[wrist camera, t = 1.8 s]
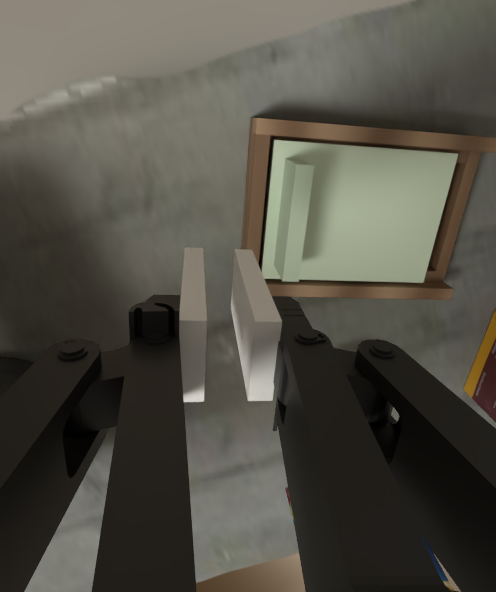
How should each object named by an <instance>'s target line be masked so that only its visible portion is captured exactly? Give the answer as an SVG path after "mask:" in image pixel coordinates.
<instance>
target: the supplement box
mask: <svg viewBox="0 0 496 592" xmlns="http://www.w3.org/2000/svg"><path fill="white" fill-rule="evenodd" d="M464 391H465V392H466V393H467V394H468V395H469V396H470V397H471V398H472V399H473V400H474V401H475V402H476V403H477V404H478V405H479V406H480V407H481V408H482V409H483V410H484V411H485V412H486V413H487V414H488V415H489V416H490V417H491V418H492V419H493V420H494V421H495V422H496V309H495V312H494V314H493V317H492V319H491V322H490V324H489V327H488V329H487V331H486V334H485V336H484V339H483V341H482V344H481V346H480V349H479V351H478V354H477V356H476V359H475V361H474V364H473V366H472V369H471V371H470V374H469V376H468V379H467V381H466V384H465V386H464Z"/></svg>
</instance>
